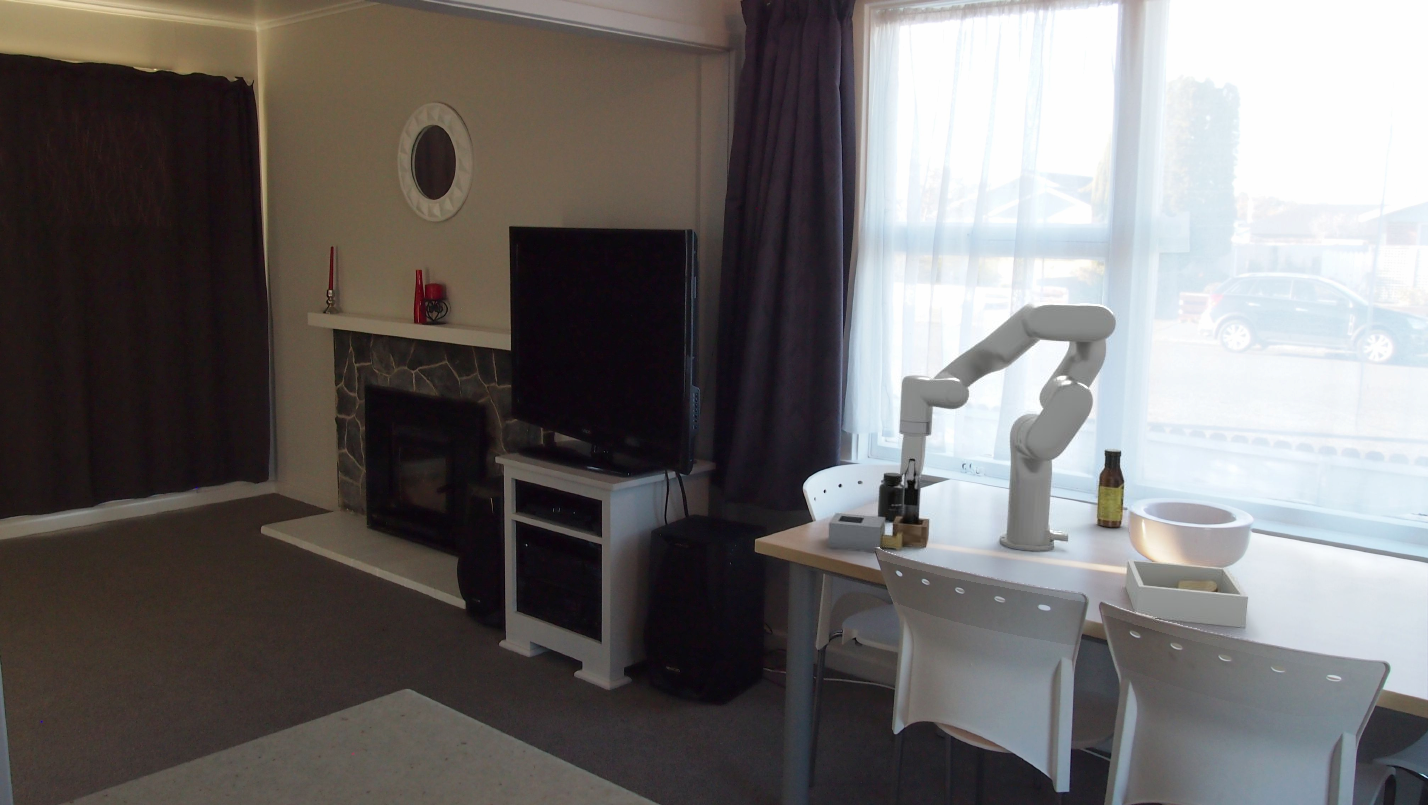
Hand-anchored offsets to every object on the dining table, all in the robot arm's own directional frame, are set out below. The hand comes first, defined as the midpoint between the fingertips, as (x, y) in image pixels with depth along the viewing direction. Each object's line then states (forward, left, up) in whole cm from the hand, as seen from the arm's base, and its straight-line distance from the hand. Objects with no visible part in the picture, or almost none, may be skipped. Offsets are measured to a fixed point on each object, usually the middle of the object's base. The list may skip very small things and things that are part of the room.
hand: (911, 502), depth 245 cm
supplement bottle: (+7, -21, -10) cm, 24 cm away
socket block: (+12, +7, -10) cm, 17 cm away
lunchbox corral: (-56, +30, -10) cm, 64 cm away
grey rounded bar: (0, 0, -6) cm, 6 cm away
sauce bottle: (-48, -34, -10) cm, 60 cm away
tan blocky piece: (+6, +7, -10) cm, 13 cm away
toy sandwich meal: (-57, +27, -10) cm, 64 cm away
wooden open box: (0, 0, -10) cm, 10 cm away
